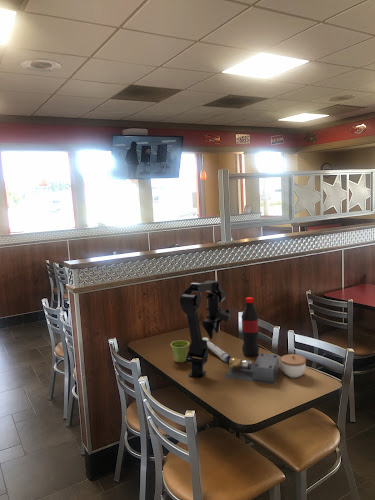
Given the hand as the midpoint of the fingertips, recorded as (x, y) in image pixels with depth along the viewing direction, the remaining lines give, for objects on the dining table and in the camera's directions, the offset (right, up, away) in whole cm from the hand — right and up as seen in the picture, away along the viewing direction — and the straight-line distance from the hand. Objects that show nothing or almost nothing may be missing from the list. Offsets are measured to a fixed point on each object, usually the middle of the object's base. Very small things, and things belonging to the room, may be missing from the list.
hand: (214, 335), depth 196 cm
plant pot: (-17, -13, +1) cm, 21 cm away
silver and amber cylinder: (+11, -12, -15) cm, 22 cm away
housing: (+22, -13, -19) cm, 32 cm away
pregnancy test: (+1, -12, +7) cm, 14 cm away
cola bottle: (+19, -11, +5) cm, 22 cm away
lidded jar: (+34, -14, -20) cm, 42 cm away
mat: (+17, -14, -17) cm, 27 cm away
